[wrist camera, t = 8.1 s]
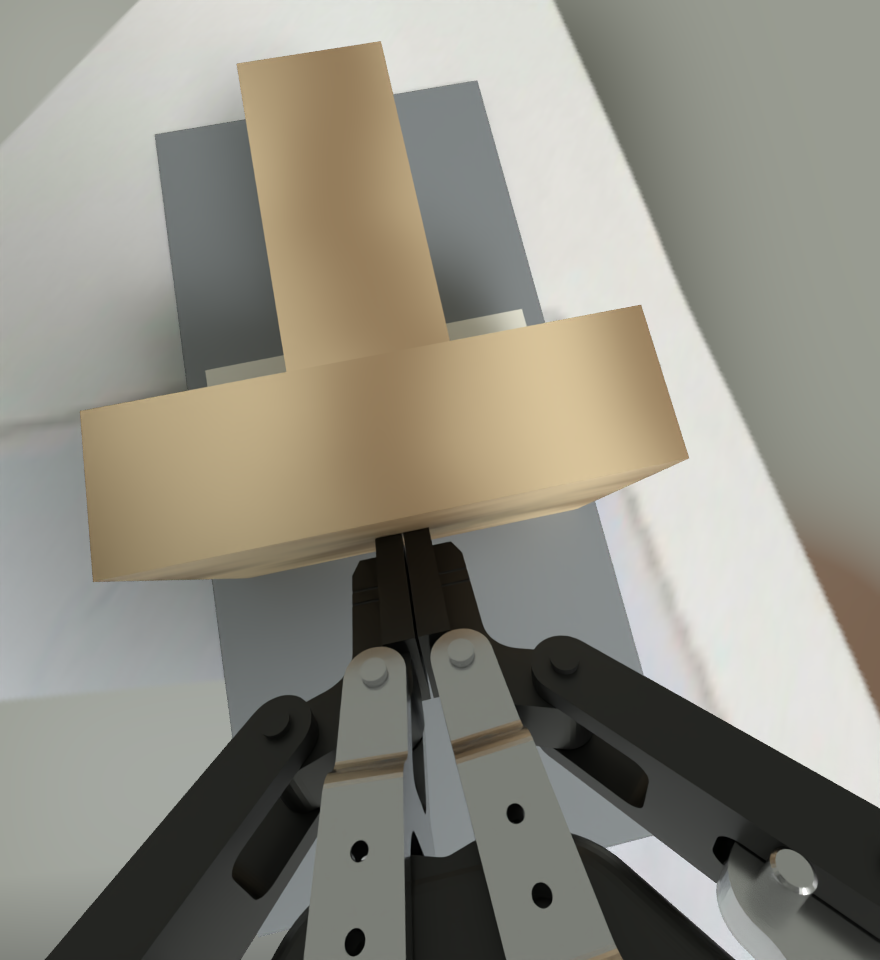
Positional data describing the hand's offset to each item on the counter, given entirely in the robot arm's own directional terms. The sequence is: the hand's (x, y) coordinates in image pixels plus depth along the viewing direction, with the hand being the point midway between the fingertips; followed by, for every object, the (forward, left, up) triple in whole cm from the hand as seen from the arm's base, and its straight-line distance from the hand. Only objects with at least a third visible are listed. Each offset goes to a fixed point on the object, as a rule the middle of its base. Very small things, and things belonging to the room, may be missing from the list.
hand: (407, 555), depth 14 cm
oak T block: (0, +6, -4) cm, 7 cm away
